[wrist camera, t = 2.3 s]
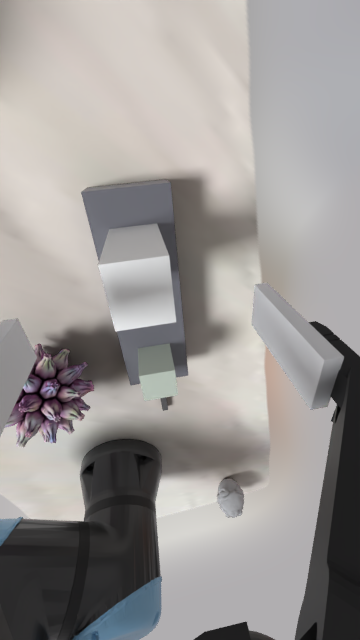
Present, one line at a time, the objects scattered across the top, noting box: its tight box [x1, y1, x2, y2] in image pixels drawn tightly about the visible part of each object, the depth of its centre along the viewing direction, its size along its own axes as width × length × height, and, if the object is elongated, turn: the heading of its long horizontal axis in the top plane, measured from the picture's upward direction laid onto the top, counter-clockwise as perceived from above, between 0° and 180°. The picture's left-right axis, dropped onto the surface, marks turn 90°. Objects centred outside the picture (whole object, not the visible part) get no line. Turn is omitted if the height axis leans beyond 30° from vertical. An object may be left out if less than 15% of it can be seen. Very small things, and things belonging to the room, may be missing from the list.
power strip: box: [81, 179, 188, 410], centre depth 34 cm, size 34×8×5 cm, turn 5°
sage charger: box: [138, 343, 178, 401], centre depth 32 cm, size 4×4×5 cm
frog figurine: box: [217, 478, 244, 518], centre depth 59 cm, size 6×7×7 cm
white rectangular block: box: [98, 223, 176, 332], centre depth 23 cm, size 5×5×11 cm
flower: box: [4, 344, 94, 447], centre depth 32 cm, size 12×12×12 cm
